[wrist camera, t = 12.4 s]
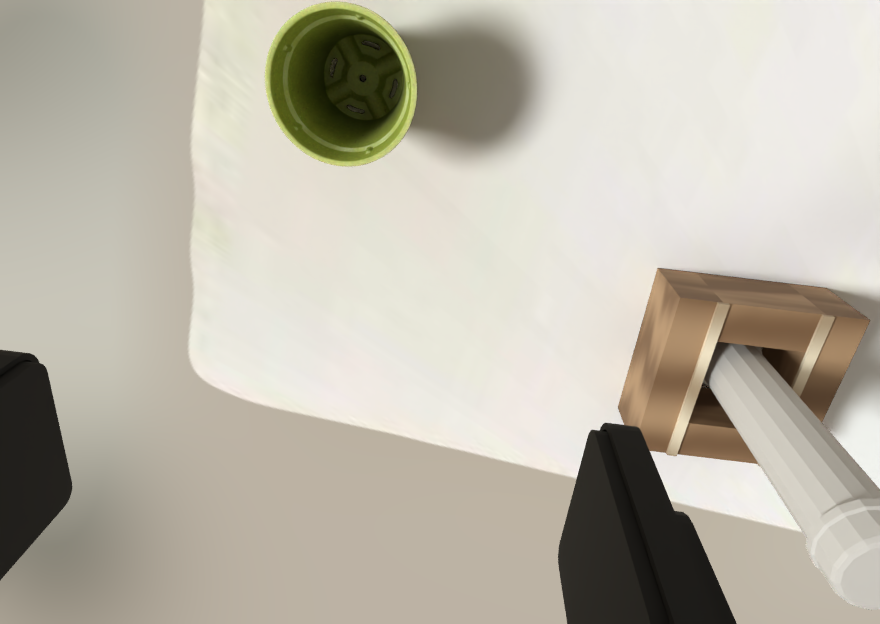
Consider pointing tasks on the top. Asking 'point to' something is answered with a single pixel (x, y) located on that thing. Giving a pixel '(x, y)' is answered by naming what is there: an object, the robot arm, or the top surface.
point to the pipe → (804, 470)
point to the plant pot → (340, 84)
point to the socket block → (739, 322)
